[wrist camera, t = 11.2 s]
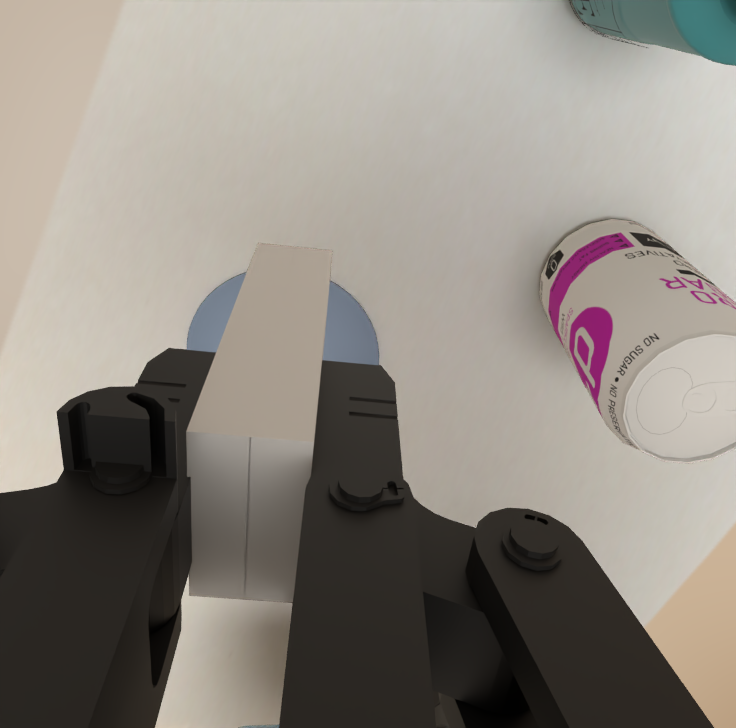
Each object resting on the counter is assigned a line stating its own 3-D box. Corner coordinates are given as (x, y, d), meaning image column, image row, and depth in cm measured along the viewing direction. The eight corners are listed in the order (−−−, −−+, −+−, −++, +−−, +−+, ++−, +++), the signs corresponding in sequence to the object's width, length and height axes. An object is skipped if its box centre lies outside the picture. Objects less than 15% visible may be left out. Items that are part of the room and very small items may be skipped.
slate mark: (390, 278, 45) (390, 279, 44) (367, 442, 51) (367, 444, 51) (185, 257, 44) (185, 258, 44) (188, 427, 50) (188, 428, 50)
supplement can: (533, 337, 47) (601, 478, 34) (541, 219, 43) (622, 325, 30) (654, 331, 47) (769, 469, 34) (674, 211, 43) (813, 315, 30)
